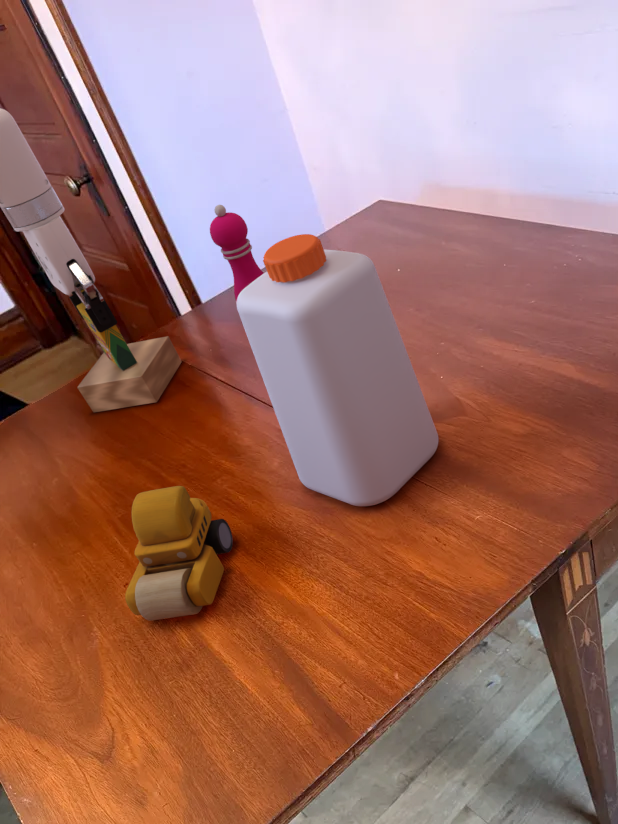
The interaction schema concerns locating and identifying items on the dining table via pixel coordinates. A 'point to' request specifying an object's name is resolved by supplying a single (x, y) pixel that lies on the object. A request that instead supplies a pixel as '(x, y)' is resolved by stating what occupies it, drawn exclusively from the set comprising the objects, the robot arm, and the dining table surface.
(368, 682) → the dining table surface
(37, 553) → the dining table surface
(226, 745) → the dining table surface
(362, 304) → the plastic bottle
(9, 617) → the dining table surface
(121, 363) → the crayon box
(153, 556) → the toy roller
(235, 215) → the pepper mill
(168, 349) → the maple block
